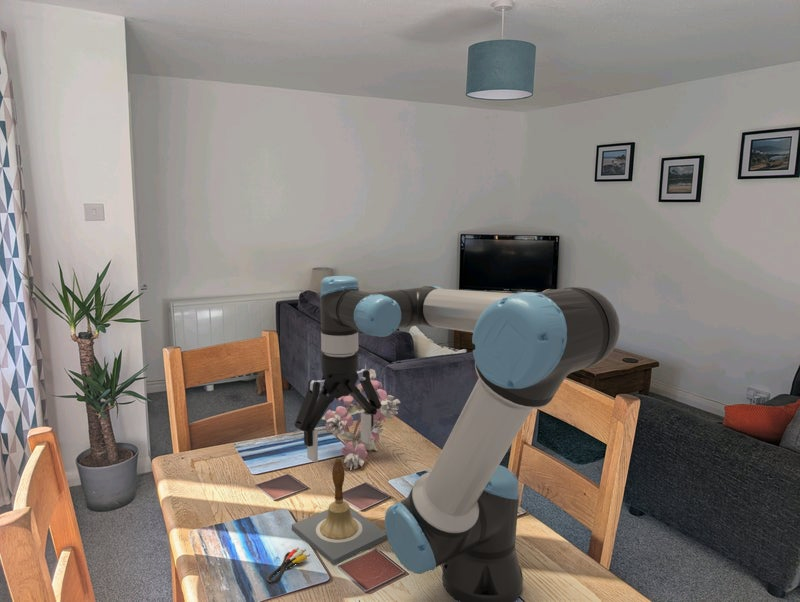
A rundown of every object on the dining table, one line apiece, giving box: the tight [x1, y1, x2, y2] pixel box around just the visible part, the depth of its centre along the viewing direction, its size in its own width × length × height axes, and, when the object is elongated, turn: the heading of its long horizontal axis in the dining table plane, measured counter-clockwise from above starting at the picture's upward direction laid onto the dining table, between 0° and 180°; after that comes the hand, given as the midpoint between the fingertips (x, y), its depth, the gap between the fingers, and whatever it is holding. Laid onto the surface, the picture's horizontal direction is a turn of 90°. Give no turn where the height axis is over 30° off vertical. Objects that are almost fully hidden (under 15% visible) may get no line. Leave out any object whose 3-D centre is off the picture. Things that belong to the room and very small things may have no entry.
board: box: [291, 507, 388, 566], centre depth 123 cm, size 16×14×1 cm
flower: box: [320, 363, 402, 471], centre depth 158 cm, size 20×22×25 cm
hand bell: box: [320, 458, 358, 540], centre depth 121 cm, size 8×8×16 cm
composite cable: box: [267, 546, 311, 585], centre depth 111 cm, size 10×5×2 cm, turn 143°
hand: (340, 450), depth 119 cm, fingers open, 13 cm apart
